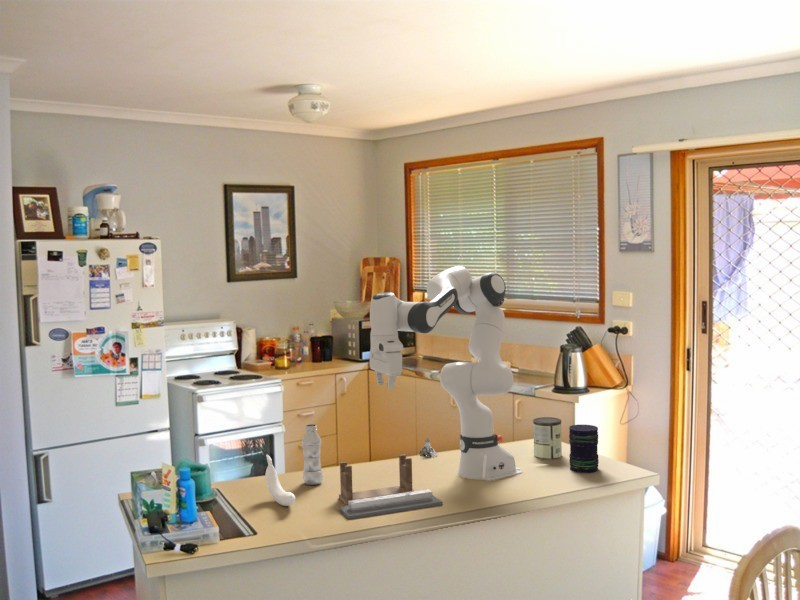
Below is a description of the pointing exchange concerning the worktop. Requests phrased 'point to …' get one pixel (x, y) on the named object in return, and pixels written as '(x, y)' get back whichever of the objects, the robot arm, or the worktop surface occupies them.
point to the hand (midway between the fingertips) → (385, 386)
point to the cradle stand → (348, 495)
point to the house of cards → (428, 450)
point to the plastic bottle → (312, 456)
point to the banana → (277, 486)
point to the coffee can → (547, 438)
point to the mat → (389, 508)
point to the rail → (389, 500)
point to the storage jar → (583, 448)
